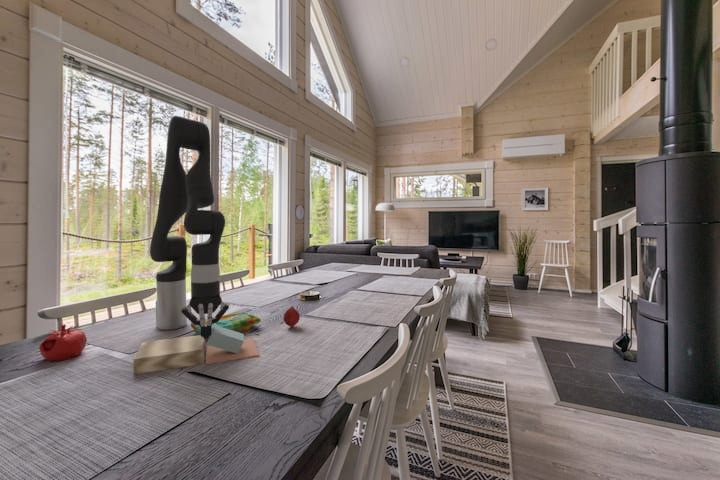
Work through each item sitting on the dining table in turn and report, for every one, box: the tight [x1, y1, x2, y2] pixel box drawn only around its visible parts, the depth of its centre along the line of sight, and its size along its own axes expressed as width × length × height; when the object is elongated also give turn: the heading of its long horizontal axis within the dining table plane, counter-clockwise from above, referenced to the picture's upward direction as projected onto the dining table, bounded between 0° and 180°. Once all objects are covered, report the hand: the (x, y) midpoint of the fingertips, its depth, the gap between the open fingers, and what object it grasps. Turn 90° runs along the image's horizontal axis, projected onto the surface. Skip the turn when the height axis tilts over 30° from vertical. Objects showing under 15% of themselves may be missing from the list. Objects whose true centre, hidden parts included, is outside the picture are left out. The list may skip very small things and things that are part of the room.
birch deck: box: [132, 334, 206, 375], centre depth 89 cm, size 16×12×4 cm
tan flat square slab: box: [205, 337, 260, 366], centre depth 96 cm, size 14×14×1 cm
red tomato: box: [38, 324, 88, 362], centre depth 90 cm, size 10×10×9 cm
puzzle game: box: [190, 311, 261, 341], centre depth 113 cm, size 12×5×20 cm
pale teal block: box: [206, 325, 245, 354], centre depth 94 cm, size 9×6×4 cm, turn 113°
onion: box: [283, 305, 301, 328], centre depth 117 cm, size 6×6×8 cm
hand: (206, 337), depth 92 cm, fingers closed
